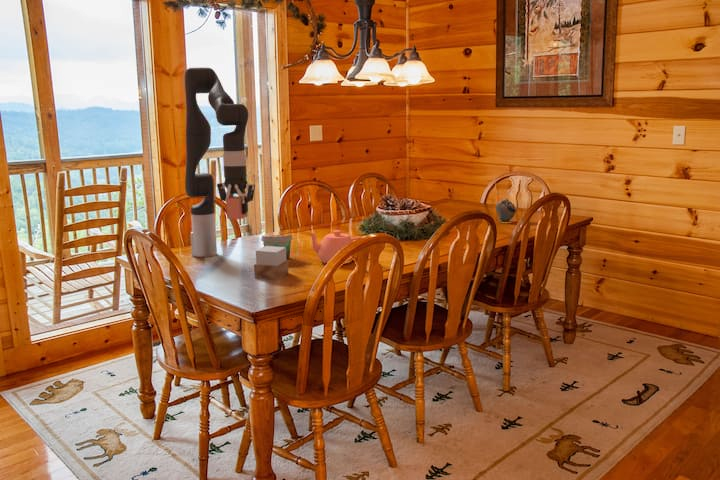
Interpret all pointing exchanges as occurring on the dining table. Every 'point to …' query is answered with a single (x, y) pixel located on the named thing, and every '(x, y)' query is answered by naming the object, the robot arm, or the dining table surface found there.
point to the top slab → (270, 255)
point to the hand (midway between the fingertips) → (237, 213)
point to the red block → (234, 208)
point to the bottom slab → (271, 271)
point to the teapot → (331, 244)
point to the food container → (278, 242)
